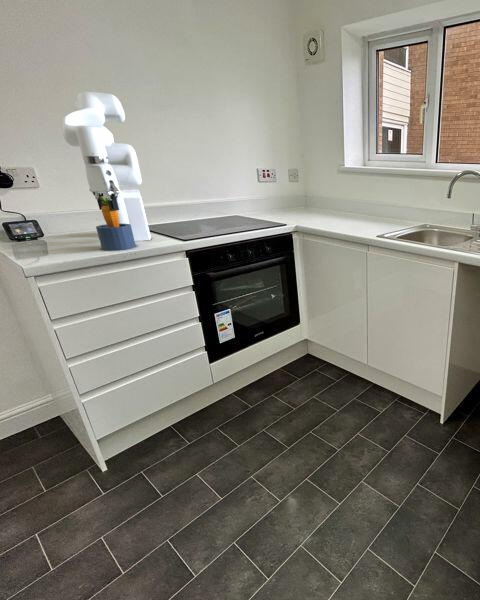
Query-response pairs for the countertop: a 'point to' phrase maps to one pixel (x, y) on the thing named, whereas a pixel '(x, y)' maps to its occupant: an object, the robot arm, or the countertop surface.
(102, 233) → the blue faceted cup
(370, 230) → the countertop surface
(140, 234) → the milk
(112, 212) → the carrot
